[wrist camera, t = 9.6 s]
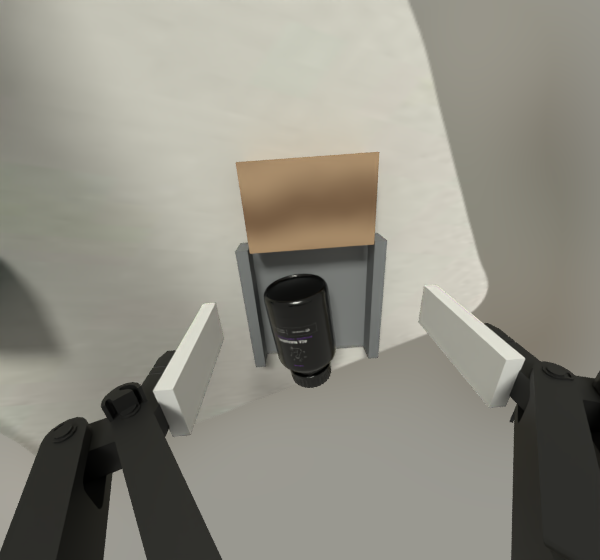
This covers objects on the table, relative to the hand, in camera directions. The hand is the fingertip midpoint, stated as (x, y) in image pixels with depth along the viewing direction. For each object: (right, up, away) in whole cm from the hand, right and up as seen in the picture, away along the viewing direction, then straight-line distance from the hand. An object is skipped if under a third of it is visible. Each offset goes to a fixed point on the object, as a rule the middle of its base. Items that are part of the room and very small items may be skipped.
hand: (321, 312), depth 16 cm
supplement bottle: (-2, +2, +10) cm, 10 cm away
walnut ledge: (-1, +10, +10) cm, 15 cm away
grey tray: (0, 0, +15) cm, 15 cm away
